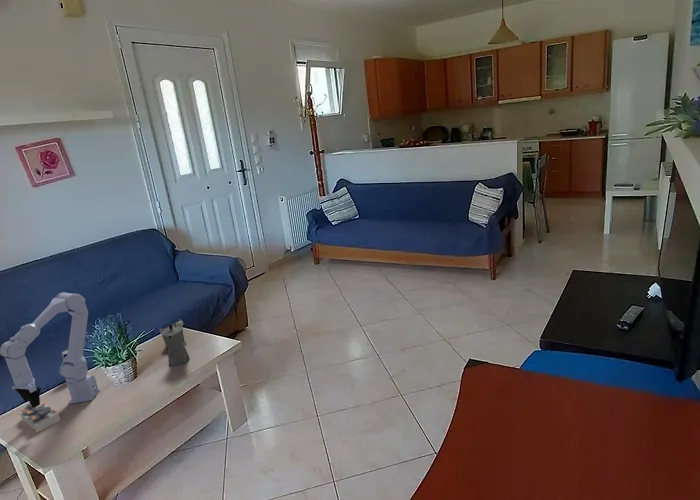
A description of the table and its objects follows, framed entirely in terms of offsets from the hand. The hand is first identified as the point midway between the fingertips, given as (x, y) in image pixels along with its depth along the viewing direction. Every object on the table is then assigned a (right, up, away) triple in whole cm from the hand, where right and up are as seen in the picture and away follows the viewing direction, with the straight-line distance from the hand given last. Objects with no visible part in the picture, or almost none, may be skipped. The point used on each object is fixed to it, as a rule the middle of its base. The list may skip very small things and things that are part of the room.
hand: (32, 403), depth 169 cm
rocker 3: (+3, -4, 0) cm, 5 cm away
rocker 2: (-1, -4, +3) cm, 5 cm away
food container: (+33, +11, +56) cm, 66 cm away
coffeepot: (+41, +7, +38) cm, 56 cm away
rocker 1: (-5, -3, +6) cm, 8 cm away
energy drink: (-6, +1, +36) cm, 37 cm away
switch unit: (0, -8, +4) cm, 9 cm away
